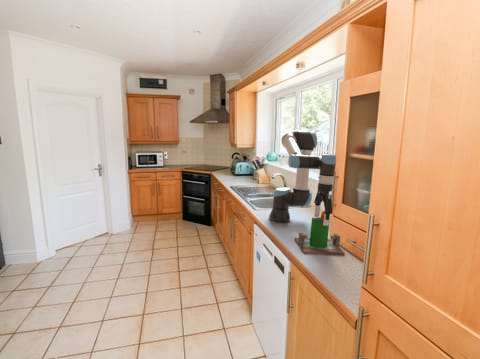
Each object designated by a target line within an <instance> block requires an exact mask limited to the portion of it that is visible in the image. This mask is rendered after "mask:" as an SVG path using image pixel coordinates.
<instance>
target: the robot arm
mask: <svg viewBox="0 0 480 359" xmlns="http://www.w3.org/2000/svg"><path fill="white" fill-rule="evenodd" d="M281 144H282V146H283V148H285V150H286V152H287V154H288V161H287V163H288V167H289V168H291V169H296V173H295V174H296V176H295V185H294V186H293V187H292V189H291V188H290V187H287V186H286V187H284V186H283V187H276V188H275V189H274V190H273V195H272V197H273V198H272V208H271V211H270V213H269V217H268V219H269V220H270V221H271V222H275V223H278V224H279V223H280V224H283V223H285V224H286V223H290V221H291V215H290V211H289V208H290V207H297V208H298V207H299V208H300V207H301V208H308V207H309V206H310V205H311V203H312V198H313V196H312V195H313V193H312V191H310V190H311V189H310V187H309V186H308V185H309V174H310V170H319V173H318V177H317V178H318V183H317V192H316V195H315V198H314V200H313V203H314V206H315V207H314V213H313V215H314V217H313V218H320V215H321V214H320V213H321V205H322V203H323V207H324V211H325V213H324V221H323V225H327V226H329V227H330V223H329V218H330V219H331V217H330V216H331V214H332V215H333V203H332V202H333V200H332V198H333V195H332V194H330V192H332V191H333V188H334V185H333V184H334V181H335V171H336V164H337V156H336V154H331V153H322V155H311V154H312V153H313V152H314V149H316V147H317V145H318V136H317V134H316V132H315V131H312V130H302V129H301V130H299V129H297V130H296V129H294V130H293V129H291V130H289V131H286V132H285V133H284V134H283V135H282V138H281Z"/></svg>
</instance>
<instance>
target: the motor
mask: <svg viewBox="0 0 480 359" xmlns="http://www.w3.org/2000/svg"><path fill="white" fill-rule="evenodd" d="M324 213H325V210H323V211H322V212H321V214H320V216H319V217H311V224H310V225H311V226H310V236H309V238H310V244H309V245H311V246H313V247H317V248H325V247H327V242H328V239H329V231H330V225H329V226H327V225H323V221H324ZM330 221H331V217H330V218H329V224H330V223H331V222H330Z"/></svg>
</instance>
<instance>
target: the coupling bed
mask: <svg viewBox="0 0 480 359" xmlns="http://www.w3.org/2000/svg"><path fill="white" fill-rule="evenodd" d="M294 242H295V243H296V244H297V246H298V248H299V249H300V251H301V252H302V253H303V255H326V256H328V255H329V256H331V255H332V256H345V254H346V253H345V251H344V250H343V249H342V248H341V247H340V242H341V236H340V235H339V234H338V233H333V235H331V236H330V238H328V242H327V247H325V248H317V247H313V246H311V245H309V244H310V237H308V234H305V233H304V232H298V237H294Z"/></svg>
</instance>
